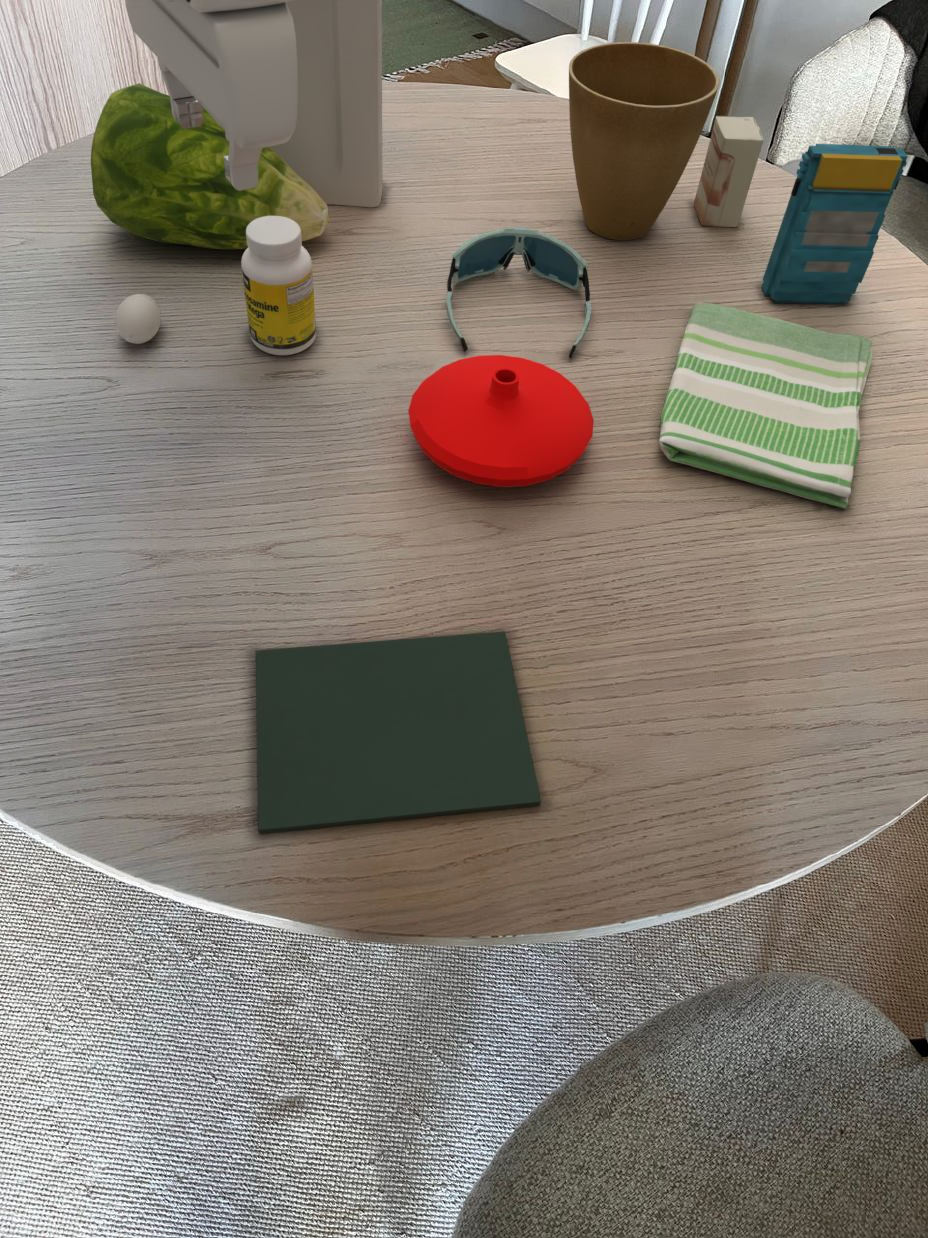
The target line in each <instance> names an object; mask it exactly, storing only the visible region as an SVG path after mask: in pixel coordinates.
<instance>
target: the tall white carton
mask: <svg viewBox="0 0 928 1238" xmlns="http://www.w3.org/2000/svg"><path fill="white" fill-rule="evenodd" d="M286 4H287V6H288V8H289V10H290V12H291V15H292V18H293V22H294V28H295V35H296V47H297V122H296V127H295V130H294V132H293V134H292V136H291V138H290V139H289V141H288V142H286V143H283V144H278V145H274V146H269V148H270V149H272V150H273V151H274V152H275V153H276V154H278V155H279V156H280V157H281V158H282V159H283V160H284V161H285V162H286V163H287V164H288V166H289V167H290V168H291V169H292V170H293V171H294V172H295V173H296V174H297V175H298V176H299V177H301V178H302V179H303V180H304V181H305V182H306V183H307V184H309V185H310V186H311V187H312V188H313V189H314V190H315V191H316V192H317V193H318V195H319V196H320V197H321V198H322V199H323V201H324V202H325V203H326V205H335V206H348V207H361V208H377V207H380V205H381V201H382V195H383V190H384V189H383V23H382V22H383V21H382V20H383V14H382V13H383V1H382V0H295V1H291V2H286ZM202 107H203V106H202Z"/></svg>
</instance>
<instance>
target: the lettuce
mask: <svg viewBox="0 0 928 1238" xmlns="http://www.w3.org/2000/svg"><path fill="white" fill-rule="evenodd" d="M202 115H203V124H202V125H201V126H199V127H191V128H189V129H185V128H183V127H182V126H181V125H180V124H179V123H178V122H177V121H176V120H175V119H174V118H173V115H172V108H171V101H170V95H169V94H166V93H162V92H161V91H158V90H155V89H153V88H151V87H149V86H146V85H144V84H142V83H136V84H135V83H134V84H132V85H129V86H126V87H123V88H118V89H117V90H115V91H114V92H111V93H110V95H109V97H108V99H107V100H106V102H105V104H104V105H103V108H102V110H101V113H100V115H99V118H98V120H97V123H96V125H95V129H94V133H93V138H92V143H91V152H90V172H91V183H92V194H93V197H94V201H95V203H96V206H97V207H98V209H100V210H101V212H102V213H103V214H104V215H105V216H106V217H107V218H108V219H109V220H110V222H111V223H113V224H114V225H116V226H118V227H119V228H122V229H123V230H125V231H126V232H129V233H131V234H132V235H135V236H137V237H138V238H142V239H146V240H150V241H154V242H159V243H166V244H176V245H187V246H192V247H198V248H203V249H212V250H223V251H224V250H230V251H231V250H246V249H247V248H248V245H247V238H246V228H247V226H248V225H249V223H251V222H252V221H253V220H255V219H257V218H260V217H265V216H282V217H286V218H289V219H291V220H293V221H295V222H296V223H297V224H298V225H299V227H300V229H301V238H302V242H306V241H309V240H312V239H315V238H318V237H320V236H322V234H323V233H324V232H325V230H326V228H327V226H328V225H329V223H330V219H329V208H328V207H329V206H328V204H326V203H325V202H324V201H323V199H322V198H321V197H320V196H319V195H318V193H317V192H316V191H315V190H314V189H313V188H312V187H311V186H310V185H309V184H307V183H306V182H305V181H304V180H303V179H302V178H301V177H299V176H298V175H297V174H296V173H295V172H294V171H293V170H292V169H291V168H290V167H289V166H288V164H287V163H286V162H285V161H284V160H283V159H282V158H281V157H280V156H279V155H278V154H276V153H275V152H274V151H273V150H272V149H270V148H269V147H264V148H262V151H261V154H260V157H259V160H258V162H257V167H258V184H257V186H256V187H254V188H251V189H246V190H241V191H239V190H236V189H235V188H234V187H233V186H232V184H231V183H230V182H229V181H228V179H227V178H226V176H225V171H226V170H225V166H224V156H228V155H229V144H230V143H229V141H228V140H227V139H226V136H225V130H224V129H223V128H222V127H221V126H220V125H219V124H218V123H217V122H216V121H215V120H214V118H213V117H212V116H211V115H210V114H209V113H208V112H207V111H206V110H205V109H204V108H203V107H202Z"/></svg>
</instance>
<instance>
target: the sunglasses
mask: <svg viewBox="0 0 928 1238" xmlns="http://www.w3.org/2000/svg"><path fill="white" fill-rule="evenodd" d="M514 256H521V257H522V259H523V260H522V261H523V263H524V267H525V269H526V271H527V273H529V272H530V271H532V272H533V273H534V274H536V275H537V276H539V277H540V278H543V279H547V280H550V281H553V282H556V283H558V284H560V285H562V286H564V287H566V288H569V289H571V290H578V289H581V288H582V287H583V289H584V297H585V299H584V312H585V320H584V323H583V327H582V330H581V332H580V334H579V336H578V337H577V339H576V341H575V342H574V343H573V345H572V346H571V349H570V352H569V354H568V358H570V359H572V357H573V355H574V354H575V351H576V350H577V349H578V346H579V345H580V343H581V342H582V340H583V339H584V337H585V334H586V332H587V330H588V327H589V324H590V319H591V313H592V303H591V291H590V281H589V274H588V269H587V267H588V264H587V261H586V260H585V259H584V258H583V256H582V254H580V253H579V252H578V251H577V250H575V249H574V248H572V247H571V246H570V245H569V244H568V243H565V242H564V241H562V240H560V239H558V238H556V237H555V236H553V235H551V234H548V233H545V232H541V231H539V230H538V229H532V228H526V227H525V228H524V227H518V226H517V227H504V228H502V229H494V230H491V231H488V232H485V233H481V234H479V235H477V236H475V237H473V238H471V239H469V240H467V241H466V242H465V243H463V244H462V245H460V246H459V247H458V248H457V249H456V250H455V251H454V252H453V254H452V255H451V257H452V259H451V263H450V267H449V274H448V278H447V281H446V282H447V283H446V284H447V286H446V288H447V295H446V299H445V301H446V302H445V303H446V304H445V305H446V312H447V313H446V314H447V317H448V320H449V323H450V325H451V328H452V329H451V330H452V331H453V332H454V334H455V335H456V337H457V339H458V341H459V343H460V344H461V347H462V349H463V351H465V352H466V351H468V350H469V348H468V345H467V342H466V340H465V338H464V336H463V335H462V333H461V331H460V330H459V328H458V325H457V323H456V321H455V317H454V313H453V310H452V301H453V294H454V293H453V289H452V282H453V281H452V280H454V281H456V282H459V283H460V282H462V281H466V280H468V279H471V278H476V277H479V276H480V277H481V276H485V275H491V274H493V273H495V272H497V271H498V270H500V269H503V270H504V271H506V270H507V269H508V267H509V265H510V264H511V262H512V259H513V257H514Z"/></svg>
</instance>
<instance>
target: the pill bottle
mask: <svg viewBox="0 0 928 1238" xmlns="http://www.w3.org/2000/svg"><path fill="white" fill-rule="evenodd" d="M246 238H247V245H248V248H247V249H245V250H244V252H243V254H242V256H241V261H240V262H241V263H240V264H241V265H240V266H241V275H242V283H243V290H244V291H243V292H244V299H245V300H244V301H245V307H246V314H247V322H248V330H249V336H250V339H251V341H252V343H253V344H254V346H256V347H257V348H258V349H259V350H261V351H262V352H264V353H267V354H269V355H275V356H288V355H289V356H291V355H294V354H295V355H296V354H298V353H301V352H304V351H305V350H306V349H308V348H309V347H311V345H312V344H314V342H315V340H316V336H317V323H316V308H315V307H316V305H315V291H314V290H315V289H314V274H313V263H312V257H311V255H310V253H309V252H308V250H307V249H306V248H305V246H303V243H302V242H303V241H302V238H301V229H300V227H299V225H298V224H297V223H296V222H295V221H293V220H291V219H289V218H286V217H282V216H265V217H260V218H257V219H255V220H253V221H252V222H251V223H249V225H248V226H247V228H246Z"/></svg>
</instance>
